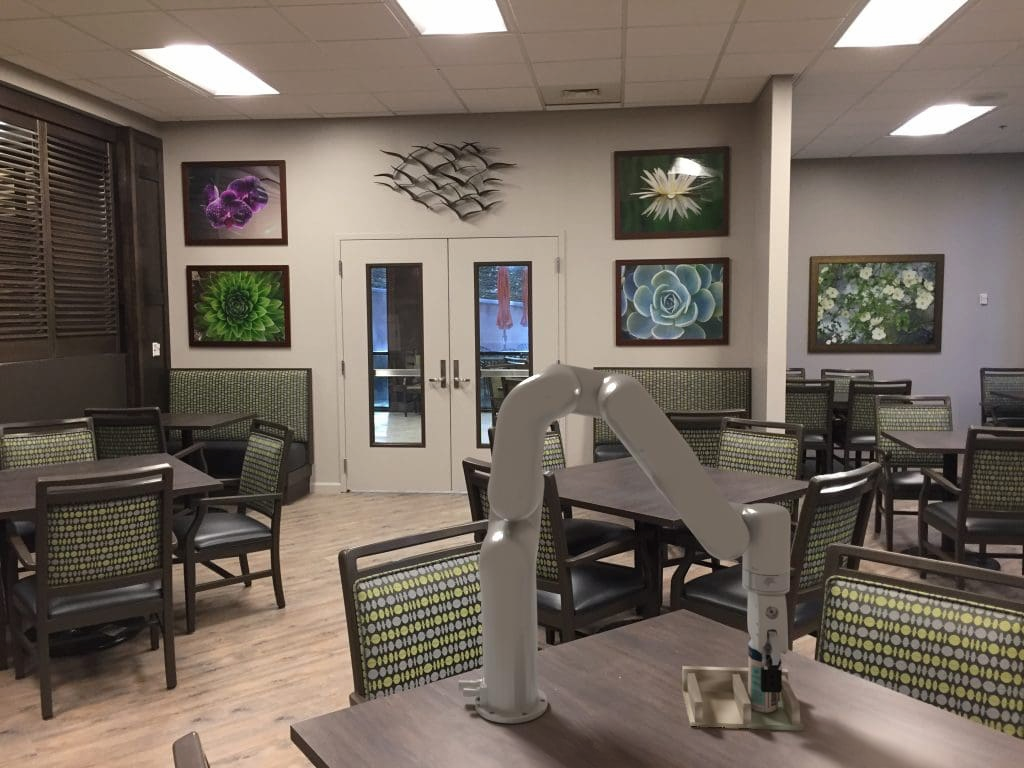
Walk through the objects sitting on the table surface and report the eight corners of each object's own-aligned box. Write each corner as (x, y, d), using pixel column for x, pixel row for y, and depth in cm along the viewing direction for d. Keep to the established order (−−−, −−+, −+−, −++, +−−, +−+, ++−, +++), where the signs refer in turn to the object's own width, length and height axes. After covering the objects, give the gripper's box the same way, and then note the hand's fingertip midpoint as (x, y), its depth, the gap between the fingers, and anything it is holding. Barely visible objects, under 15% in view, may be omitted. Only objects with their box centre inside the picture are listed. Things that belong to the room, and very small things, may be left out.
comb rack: (690, 726, 132) (690, 698, 132) (682, 691, 144) (682, 666, 144) (804, 730, 130) (804, 702, 130) (786, 694, 142) (786, 668, 142)
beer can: (775, 702, 138) (776, 634, 137) (779, 716, 133) (780, 646, 132) (746, 699, 139) (747, 632, 138) (749, 713, 134) (749, 644, 133)
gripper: (802, 598, 125) (800, 703, 127) (777, 562, 142) (775, 656, 144) (753, 597, 126) (751, 702, 128) (733, 562, 143) (732, 655, 145)
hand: (764, 677), depth 136 cm, fingers open, 9 cm apart
